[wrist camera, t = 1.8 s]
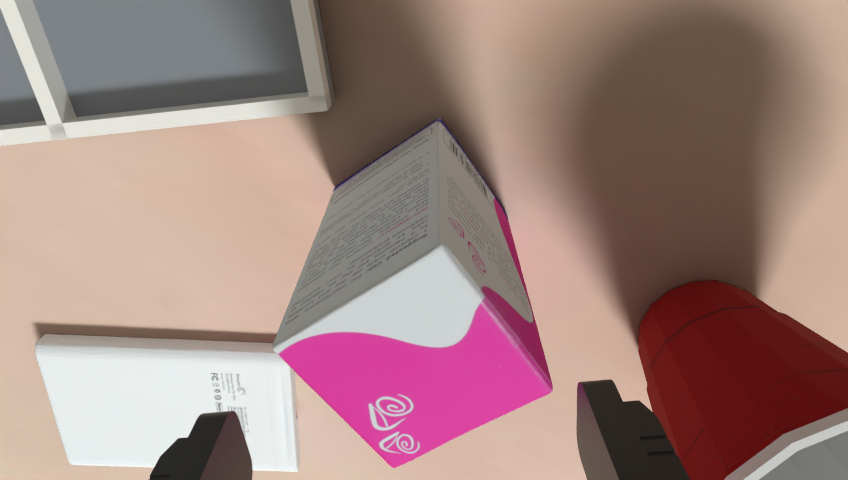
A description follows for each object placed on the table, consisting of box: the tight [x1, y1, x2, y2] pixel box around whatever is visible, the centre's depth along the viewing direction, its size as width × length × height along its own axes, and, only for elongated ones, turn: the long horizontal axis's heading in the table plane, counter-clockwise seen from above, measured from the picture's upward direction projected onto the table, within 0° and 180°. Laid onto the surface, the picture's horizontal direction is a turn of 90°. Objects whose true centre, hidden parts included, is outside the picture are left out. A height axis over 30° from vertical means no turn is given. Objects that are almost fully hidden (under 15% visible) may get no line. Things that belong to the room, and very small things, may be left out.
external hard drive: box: [35, 334, 301, 472], centre depth 30 cm, size 2×8×12 cm
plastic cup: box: [638, 280, 848, 480], centre depth 23 cm, size 11×11×12 cm
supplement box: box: [272, 117, 553, 468], centre depth 20 cm, size 6×6×12 cm
